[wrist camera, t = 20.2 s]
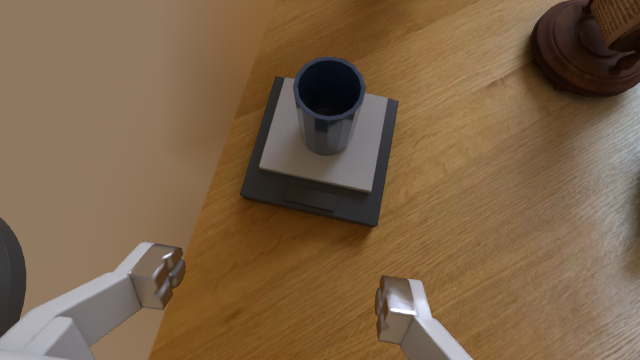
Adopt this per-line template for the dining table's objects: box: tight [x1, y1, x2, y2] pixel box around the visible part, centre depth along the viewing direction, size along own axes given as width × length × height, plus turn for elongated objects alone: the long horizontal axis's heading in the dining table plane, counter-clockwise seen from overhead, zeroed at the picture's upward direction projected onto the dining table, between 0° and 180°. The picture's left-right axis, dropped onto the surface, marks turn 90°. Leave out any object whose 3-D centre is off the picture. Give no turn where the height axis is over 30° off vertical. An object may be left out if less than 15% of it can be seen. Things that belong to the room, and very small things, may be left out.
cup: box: [293, 56, 366, 156], centre depth 28 cm, size 6×6×9 cm
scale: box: [240, 77, 399, 228], centre depth 34 cm, size 16×16×3 cm
